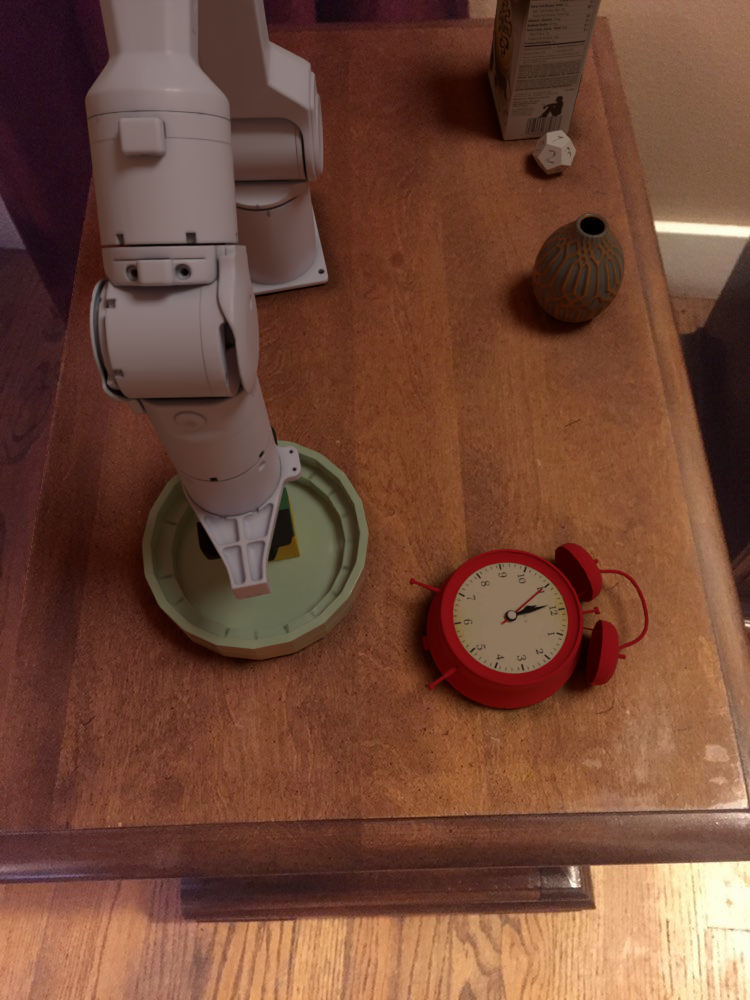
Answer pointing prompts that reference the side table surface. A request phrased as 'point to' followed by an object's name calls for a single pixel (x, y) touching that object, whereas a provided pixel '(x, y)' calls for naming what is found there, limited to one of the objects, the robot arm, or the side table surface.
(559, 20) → the coffee box
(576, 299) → the vase
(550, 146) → the game die
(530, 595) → the alarm clock
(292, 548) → the sponge
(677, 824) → the side table surface
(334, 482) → the bowl
